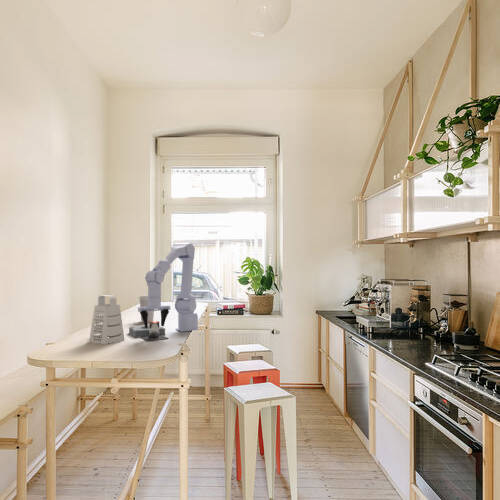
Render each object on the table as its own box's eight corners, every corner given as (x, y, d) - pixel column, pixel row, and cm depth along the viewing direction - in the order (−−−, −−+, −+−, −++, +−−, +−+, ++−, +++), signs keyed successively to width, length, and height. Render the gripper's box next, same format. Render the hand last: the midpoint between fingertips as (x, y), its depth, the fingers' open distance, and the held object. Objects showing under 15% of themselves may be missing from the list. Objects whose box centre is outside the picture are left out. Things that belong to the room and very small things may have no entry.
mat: (161, 335, 198) (161, 334, 198) (168, 339, 189) (168, 338, 189) (140, 337, 193) (140, 336, 193) (146, 341, 184) (146, 340, 184)
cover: (157, 335, 195) (157, 320, 195) (160, 337, 191) (160, 322, 191) (147, 336, 193) (147, 321, 193) (150, 338, 189) (150, 322, 189)
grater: (105, 344, 177) (105, 297, 178) (89, 341, 183) (89, 295, 183) (124, 340, 186) (124, 295, 187) (108, 337, 192) (108, 294, 192)
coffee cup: (135, 322, 237) (135, 295, 237) (144, 319, 246) (144, 294, 246) (150, 323, 234) (150, 296, 234) (158, 320, 243) (159, 294, 243)
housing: (157, 330, 210) (157, 323, 210) (165, 334, 200) (165, 327, 200) (129, 333, 203) (129, 326, 203) (135, 337, 193) (135, 330, 193)
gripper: (141, 298, 184) (140, 329, 184) (172, 296, 191) (172, 326, 191) (136, 297, 190) (136, 327, 190) (167, 295, 198) (167, 324, 197)
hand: (154, 326), depth 191 cm, fingers open, 7 cm apart
